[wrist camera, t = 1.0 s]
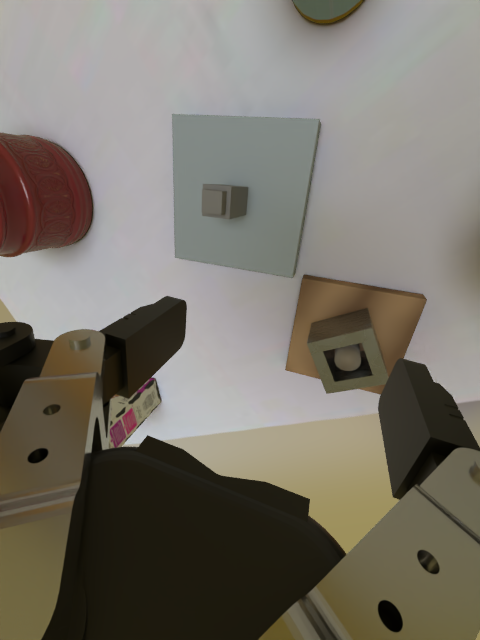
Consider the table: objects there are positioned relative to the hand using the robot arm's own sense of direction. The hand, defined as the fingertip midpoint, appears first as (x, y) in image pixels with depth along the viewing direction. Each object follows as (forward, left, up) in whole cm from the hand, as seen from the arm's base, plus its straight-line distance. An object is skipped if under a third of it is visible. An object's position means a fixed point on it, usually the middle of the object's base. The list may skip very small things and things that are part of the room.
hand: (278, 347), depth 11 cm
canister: (+35, -2, -23) cm, 42 cm away
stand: (-5, +9, -22) cm, 25 cm away
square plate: (+9, -4, -22) cm, 24 cm away
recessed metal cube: (-5, +9, -21) cm, 23 cm away
